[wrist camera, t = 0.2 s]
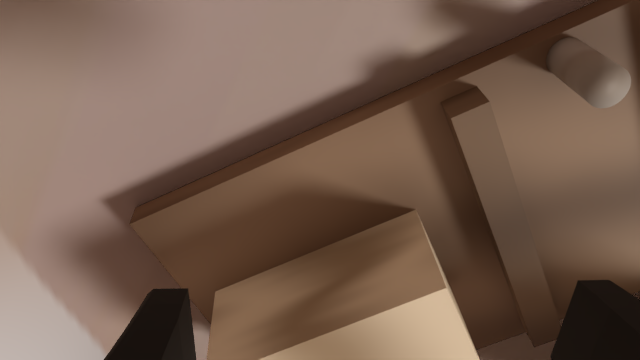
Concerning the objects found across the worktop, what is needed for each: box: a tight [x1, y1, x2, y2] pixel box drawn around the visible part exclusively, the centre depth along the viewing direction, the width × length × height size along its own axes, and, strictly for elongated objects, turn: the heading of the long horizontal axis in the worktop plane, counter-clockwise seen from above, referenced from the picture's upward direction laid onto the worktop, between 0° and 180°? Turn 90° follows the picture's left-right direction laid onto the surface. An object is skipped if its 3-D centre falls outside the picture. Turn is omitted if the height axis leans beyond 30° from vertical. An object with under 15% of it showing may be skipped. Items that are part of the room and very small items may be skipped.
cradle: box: [130, 0, 640, 350], centre depth 20 cm, size 12×20×4 cm, turn 114°
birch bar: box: [207, 210, 480, 360], centre depth 19 cm, size 8×4×4 cm, turn 114°
